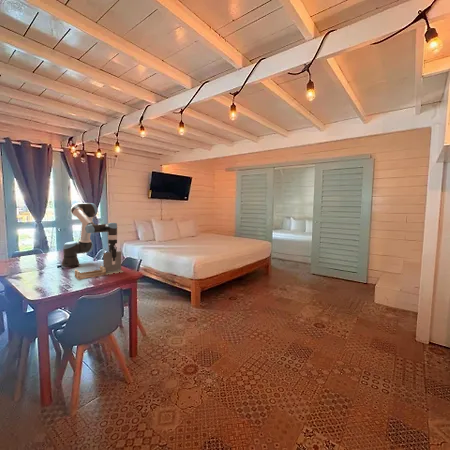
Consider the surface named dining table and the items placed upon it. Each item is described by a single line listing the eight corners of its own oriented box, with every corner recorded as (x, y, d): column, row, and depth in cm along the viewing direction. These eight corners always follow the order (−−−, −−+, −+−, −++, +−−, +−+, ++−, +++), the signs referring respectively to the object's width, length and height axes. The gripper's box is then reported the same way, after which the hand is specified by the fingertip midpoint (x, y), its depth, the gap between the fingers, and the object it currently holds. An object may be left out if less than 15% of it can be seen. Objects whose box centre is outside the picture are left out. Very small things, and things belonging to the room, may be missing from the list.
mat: (101, 271, 224) (101, 271, 224) (118, 269, 235) (118, 268, 235) (106, 274, 216) (106, 274, 216) (123, 272, 226) (123, 271, 226)
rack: (74, 276, 208) (74, 269, 207) (101, 272, 223) (101, 265, 223) (77, 279, 200) (77, 272, 200) (105, 274, 216) (105, 268, 216)
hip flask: (120, 268, 232) (120, 248, 231) (122, 269, 230) (122, 249, 228) (103, 271, 221) (102, 250, 219) (104, 272, 218) (104, 250, 217)
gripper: (105, 238, 226) (105, 262, 228) (111, 240, 214) (111, 266, 216) (113, 237, 232) (113, 261, 233) (120, 240, 220) (120, 265, 222)
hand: (112, 263), depth 225 cm, fingers closed on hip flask, 4 cm apart
